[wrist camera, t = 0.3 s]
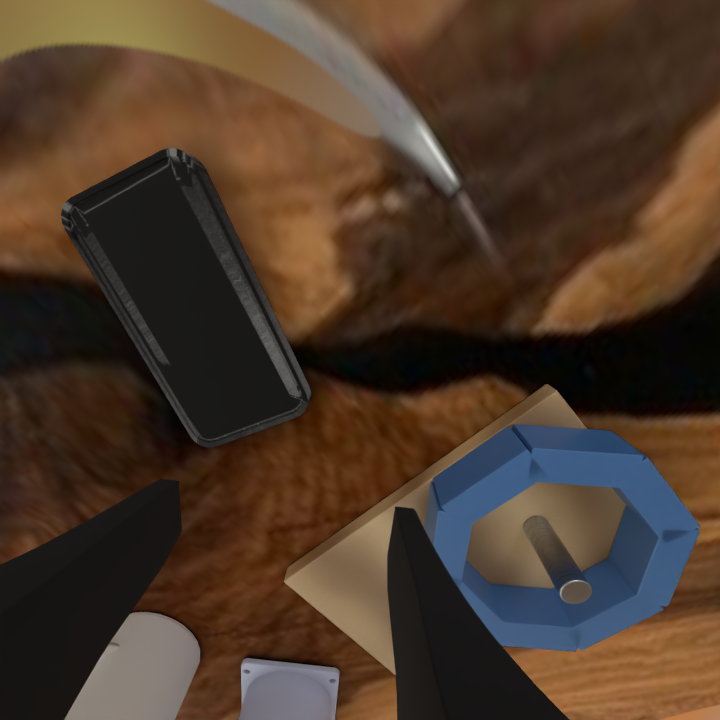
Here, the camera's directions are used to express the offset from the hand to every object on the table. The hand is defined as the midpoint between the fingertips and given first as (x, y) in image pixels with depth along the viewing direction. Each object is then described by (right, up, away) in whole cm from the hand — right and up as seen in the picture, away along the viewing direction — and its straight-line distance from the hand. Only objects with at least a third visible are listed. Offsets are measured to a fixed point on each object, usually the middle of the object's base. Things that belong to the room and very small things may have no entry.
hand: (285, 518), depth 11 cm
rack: (+10, -8, +13) cm, 18 cm away
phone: (-7, +8, +8) cm, 13 cm away
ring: (+14, -5, +10) cm, 18 cm away
